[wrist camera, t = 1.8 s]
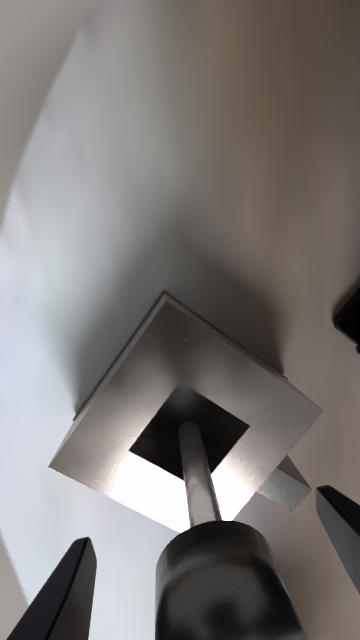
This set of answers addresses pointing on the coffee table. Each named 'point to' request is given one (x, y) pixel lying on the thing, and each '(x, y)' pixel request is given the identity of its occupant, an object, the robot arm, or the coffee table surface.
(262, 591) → the plunger
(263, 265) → the coffee table surface
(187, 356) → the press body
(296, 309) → the coffee table surface
